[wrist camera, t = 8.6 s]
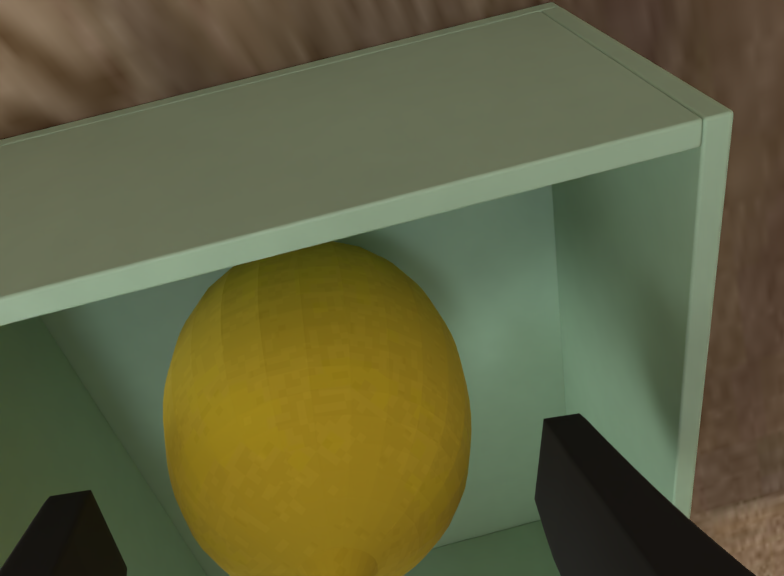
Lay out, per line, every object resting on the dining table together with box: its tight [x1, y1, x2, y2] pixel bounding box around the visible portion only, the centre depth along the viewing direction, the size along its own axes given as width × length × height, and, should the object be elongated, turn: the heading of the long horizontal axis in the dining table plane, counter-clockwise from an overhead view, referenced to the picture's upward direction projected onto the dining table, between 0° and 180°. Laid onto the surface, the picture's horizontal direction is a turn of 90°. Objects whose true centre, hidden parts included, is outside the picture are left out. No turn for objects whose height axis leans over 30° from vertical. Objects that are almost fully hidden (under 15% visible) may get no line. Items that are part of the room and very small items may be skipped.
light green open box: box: [0, 2, 733, 576], centre depth 16 cm, size 17×13×6 cm
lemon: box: [163, 241, 471, 576], centre depth 13 cm, size 6×6×8 cm
